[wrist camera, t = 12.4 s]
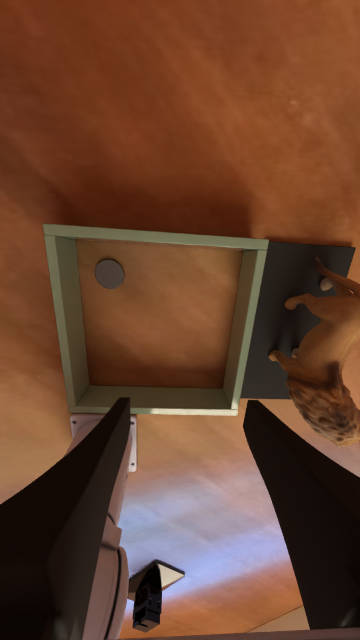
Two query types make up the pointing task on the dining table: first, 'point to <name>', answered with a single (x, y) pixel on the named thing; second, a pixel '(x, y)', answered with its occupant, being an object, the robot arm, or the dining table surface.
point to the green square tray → (112, 276)
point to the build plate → (150, 593)
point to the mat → (286, 310)
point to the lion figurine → (326, 360)
